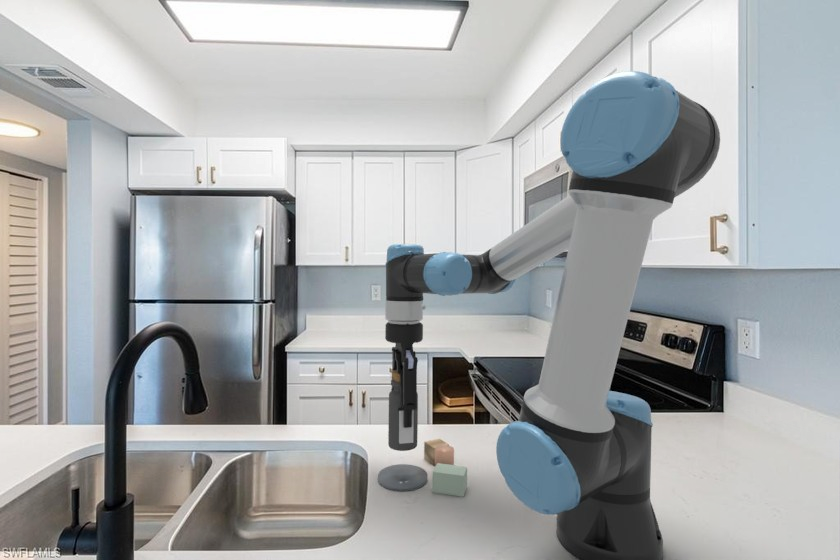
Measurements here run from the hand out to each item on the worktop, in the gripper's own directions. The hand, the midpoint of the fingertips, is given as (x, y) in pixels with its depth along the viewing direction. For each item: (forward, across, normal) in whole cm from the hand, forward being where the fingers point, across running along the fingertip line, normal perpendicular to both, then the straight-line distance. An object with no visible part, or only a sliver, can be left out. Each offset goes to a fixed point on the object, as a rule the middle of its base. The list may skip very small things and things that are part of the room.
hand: (402, 436), depth 87 cm
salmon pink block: (+9, +1, -9) cm, 13 cm away
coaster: (+9, 0, 0) cm, 9 cm away
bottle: (+2, 0, 0) cm, 2 cm away
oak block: (+9, +7, -9) cm, 14 cm away
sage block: (+9, -6, -8) cm, 13 cm away
